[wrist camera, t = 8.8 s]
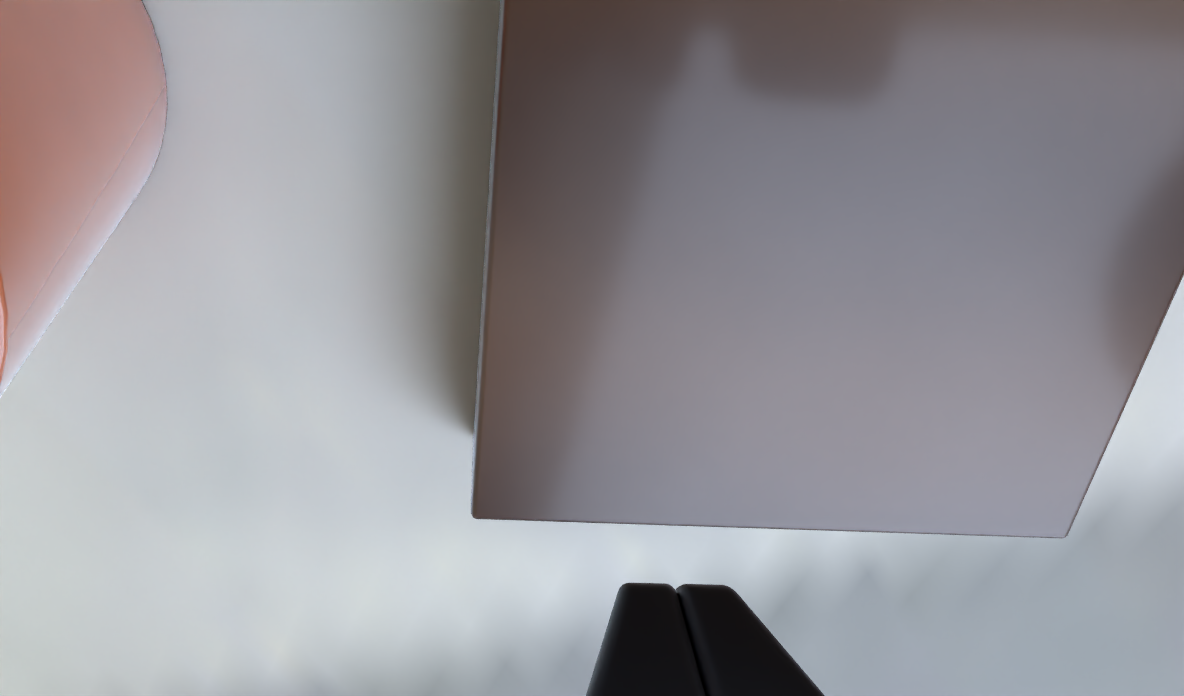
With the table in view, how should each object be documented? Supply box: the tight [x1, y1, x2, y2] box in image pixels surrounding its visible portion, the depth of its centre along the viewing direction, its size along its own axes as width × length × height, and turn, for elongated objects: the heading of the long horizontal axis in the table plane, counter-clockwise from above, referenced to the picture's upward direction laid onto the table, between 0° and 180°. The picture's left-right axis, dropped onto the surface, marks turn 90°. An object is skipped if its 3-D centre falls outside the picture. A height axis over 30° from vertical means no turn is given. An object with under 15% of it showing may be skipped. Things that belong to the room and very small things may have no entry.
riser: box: [471, 0, 1184, 538], centre depth 15 cm, size 12×10×2 cm
